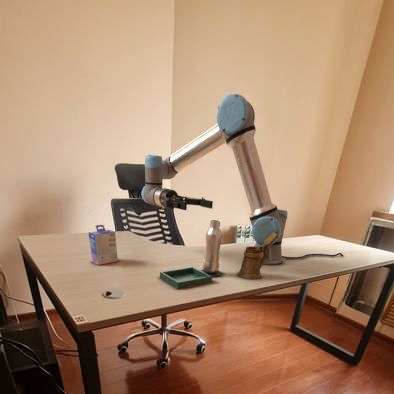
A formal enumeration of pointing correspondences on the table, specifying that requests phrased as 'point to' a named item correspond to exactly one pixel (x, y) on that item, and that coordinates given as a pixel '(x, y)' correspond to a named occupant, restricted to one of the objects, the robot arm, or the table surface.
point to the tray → (185, 277)
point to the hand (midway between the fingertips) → (199, 205)
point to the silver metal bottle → (212, 247)
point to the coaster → (213, 273)
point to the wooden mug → (255, 258)
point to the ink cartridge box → (103, 246)
